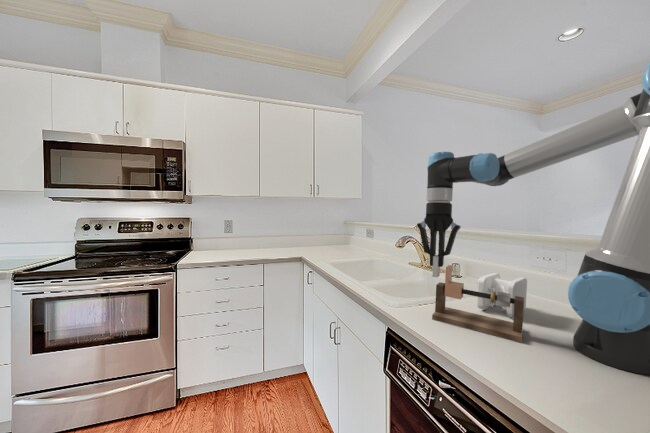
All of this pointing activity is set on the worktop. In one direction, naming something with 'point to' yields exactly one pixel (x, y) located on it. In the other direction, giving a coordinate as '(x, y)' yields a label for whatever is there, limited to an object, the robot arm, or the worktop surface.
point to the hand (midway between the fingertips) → (436, 276)
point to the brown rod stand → (479, 321)
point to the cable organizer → (499, 285)
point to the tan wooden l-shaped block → (452, 285)
